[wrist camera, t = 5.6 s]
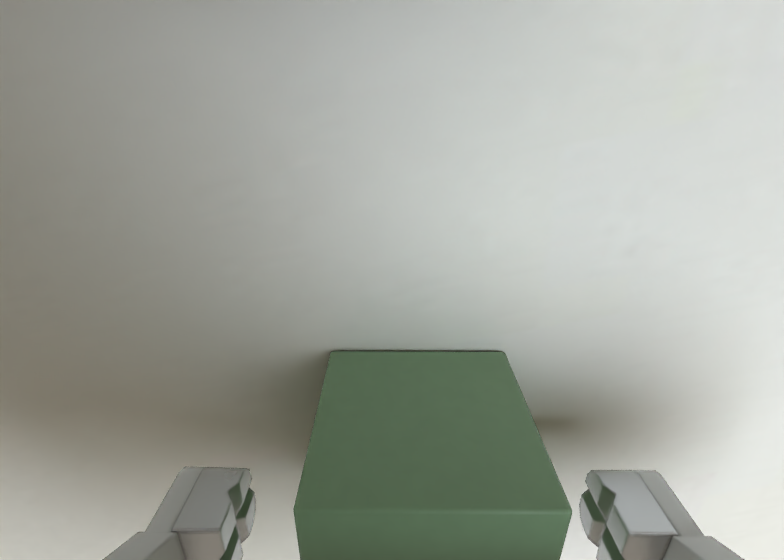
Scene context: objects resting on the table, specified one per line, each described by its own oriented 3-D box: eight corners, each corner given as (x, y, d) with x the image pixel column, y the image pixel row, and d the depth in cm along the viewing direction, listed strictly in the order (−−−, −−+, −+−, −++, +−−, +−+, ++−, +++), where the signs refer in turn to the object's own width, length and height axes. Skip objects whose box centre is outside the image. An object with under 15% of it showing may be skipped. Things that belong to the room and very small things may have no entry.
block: (330, 349, 11) (291, 510, 7) (505, 350, 11) (574, 511, 7) (338, 474, 13) (312, 661, 9) (487, 475, 13) (533, 661, 9)
